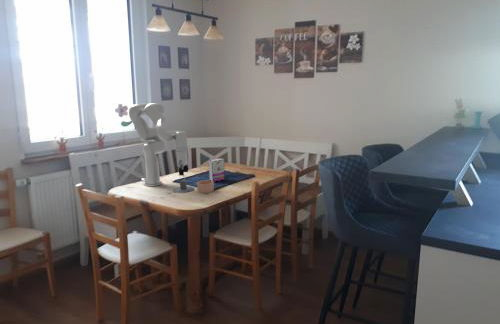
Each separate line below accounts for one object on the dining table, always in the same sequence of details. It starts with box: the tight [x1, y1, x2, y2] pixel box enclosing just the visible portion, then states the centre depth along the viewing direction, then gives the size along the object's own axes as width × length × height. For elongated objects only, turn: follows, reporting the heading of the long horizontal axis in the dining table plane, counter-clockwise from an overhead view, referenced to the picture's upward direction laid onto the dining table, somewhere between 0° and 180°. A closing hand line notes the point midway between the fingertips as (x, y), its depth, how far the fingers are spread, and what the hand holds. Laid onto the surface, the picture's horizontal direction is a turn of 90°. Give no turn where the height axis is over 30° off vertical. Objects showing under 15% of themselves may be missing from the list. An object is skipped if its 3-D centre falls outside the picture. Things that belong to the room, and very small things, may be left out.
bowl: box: [196, 179, 215, 194], centre depth 274 cm, size 11×11×6 cm
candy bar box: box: [208, 158, 226, 183], centre depth 299 cm, size 11×5×16 cm, turn 129°
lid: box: [173, 179, 195, 194], centre depth 277 cm, size 14×14×7 cm
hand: (183, 173), depth 275 cm, fingers open, 9 cm apart
